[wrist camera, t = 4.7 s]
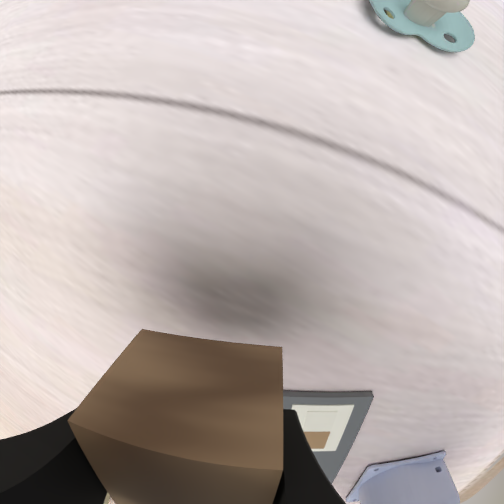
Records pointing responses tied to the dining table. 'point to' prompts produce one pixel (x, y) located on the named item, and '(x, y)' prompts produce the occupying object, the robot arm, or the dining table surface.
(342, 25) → the dining table surface
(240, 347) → the walnut block
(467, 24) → the pacifier
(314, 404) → the mat
